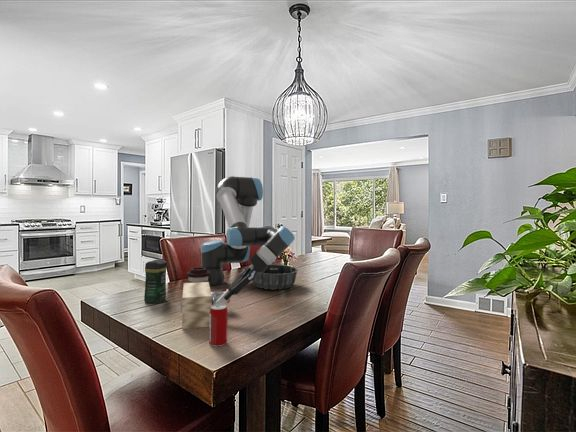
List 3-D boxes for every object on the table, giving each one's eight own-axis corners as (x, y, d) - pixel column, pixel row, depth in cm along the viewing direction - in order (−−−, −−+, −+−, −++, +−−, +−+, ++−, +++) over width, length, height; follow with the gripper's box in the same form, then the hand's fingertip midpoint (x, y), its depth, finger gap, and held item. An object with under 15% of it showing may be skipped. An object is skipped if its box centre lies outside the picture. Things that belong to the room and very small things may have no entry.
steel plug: (214, 310, 122) (214, 295, 121) (215, 314, 116) (215, 299, 116) (180, 312, 118) (181, 297, 118) (180, 317, 113) (180, 301, 113)
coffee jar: (158, 304, 137) (159, 261, 137) (141, 303, 138) (141, 261, 138) (169, 298, 147) (169, 258, 147) (152, 297, 148) (153, 257, 147)
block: (208, 307, 134) (208, 281, 134) (211, 326, 113) (211, 295, 113) (183, 309, 131) (183, 283, 131) (182, 329, 110) (182, 297, 110)
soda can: (229, 344, 99) (230, 306, 98) (213, 348, 96) (213, 309, 95) (222, 338, 103) (223, 301, 103) (206, 342, 100) (206, 304, 100)
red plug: (228, 300, 134) (228, 287, 134) (230, 304, 129) (230, 291, 129) (198, 302, 130) (198, 289, 130) (199, 306, 125) (199, 292, 125)
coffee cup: (182, 301, 142) (182, 268, 142) (201, 297, 150) (202, 265, 149) (193, 306, 136) (194, 271, 135) (213, 301, 143) (214, 268, 142)
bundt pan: (307, 287, 174) (308, 269, 173) (272, 296, 155) (272, 275, 155) (274, 279, 192) (275, 262, 192) (239, 285, 173) (240, 267, 173)
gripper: (273, 269, 118) (227, 316, 114) (265, 263, 131) (223, 306, 126) (259, 255, 117) (212, 303, 112) (252, 250, 129) (210, 293, 125)
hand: (218, 304), depth 119 cm, fingers closed
